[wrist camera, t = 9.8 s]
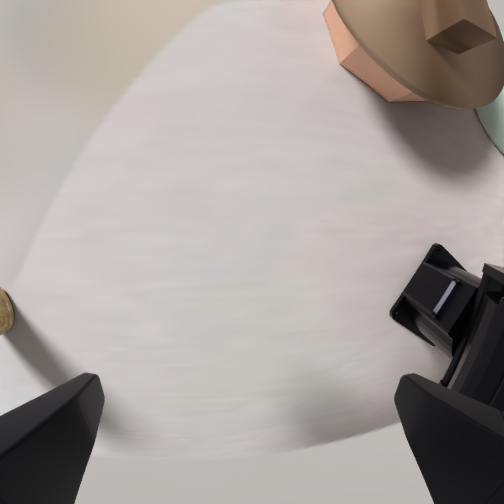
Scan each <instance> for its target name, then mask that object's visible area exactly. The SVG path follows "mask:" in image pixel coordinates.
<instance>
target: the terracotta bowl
mask: <svg viewBox="0 0 504 504" xmlns="http://www.w3.org/2000/svg"><path fill="white" fill-rule="evenodd" d="M323 15H324V18H325V21H326V24H327V26H328V29H329V32H330V35H331V38H332V41H333V44H334V47H335V50H336V53H337V57H338V60H339V64H341V65H342V66H343V67H345V68H346V69H348V70H349V71H350V72H352V73H353V74H354V75H356V76H357V77H358V78H360V79H361V80H362V81H364V82H365V83H366V84H367V85H369V86H370V87H371V88H373V89H374V90H375V91H376V92H378V93H379V94H380V95H381V96H382V97H384V98H385V99H386V100H387V101H388V102H396V101H428V100H426V99H424V98H422V97H420V96H418V95H416V94H415V93H413V92H412V91H410V90H409V89H407V88H406V87H404V86H403V85H401V84H400V83H399V82H398V81H396V80H395V79H394V78H392V77H391V76H390V75H389V74H388V73H387V72H385V71H384V70H383V69H382V68H381V67H380V66H379V65H378V64H377V63H376V62H375V61H374V60H373V59H372V58H371V57H370V56H369V55H368V54H367V53H366V52H365V51H364V50H363V48H362V47H361V46H360V45H359V44H358V43H357V41H356V40H355V39H354V37H353V36H352V35H351V33H350V32H349V31H348V29H347V28H346V26H345V25H344V23H343V21H342V20H341V18H340V16H339V15H338V13H337V11H336V9H335V6H334V4H333V2H332V0H331V1H330V3H329V5H328V6H327V8H326V9H325V11H324V13H323Z"/></svg>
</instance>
